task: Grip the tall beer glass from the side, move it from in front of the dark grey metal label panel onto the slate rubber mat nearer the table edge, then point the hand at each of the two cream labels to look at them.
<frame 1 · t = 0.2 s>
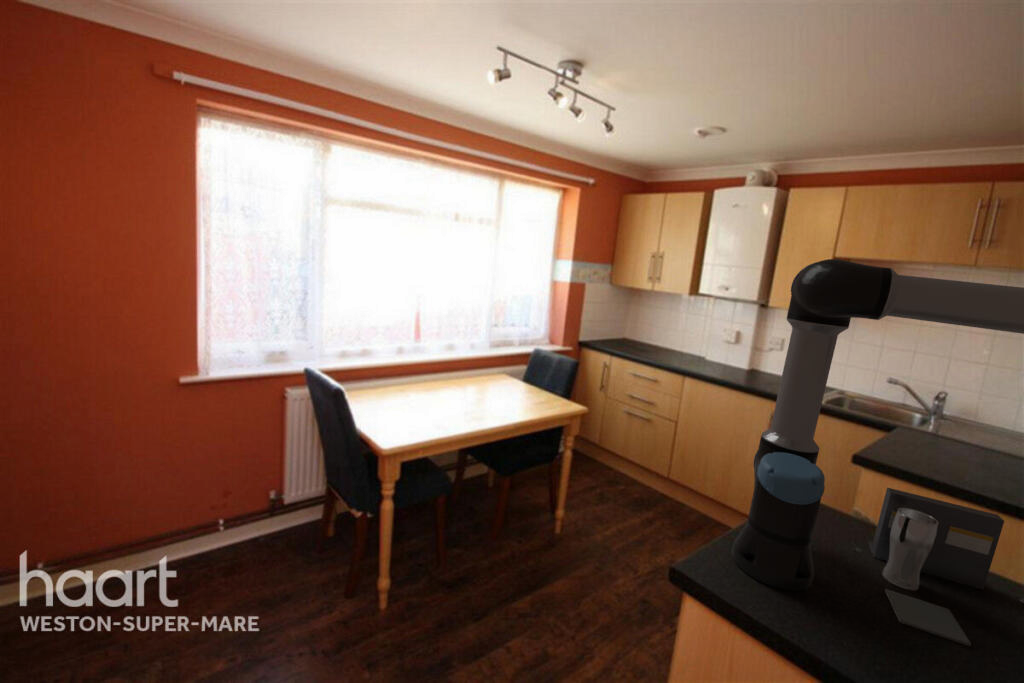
beer glass: (899, 581, 99), on the counter
label panel: (924, 569, 104), on the counter
rubber mat: (924, 616, 88), on the counter
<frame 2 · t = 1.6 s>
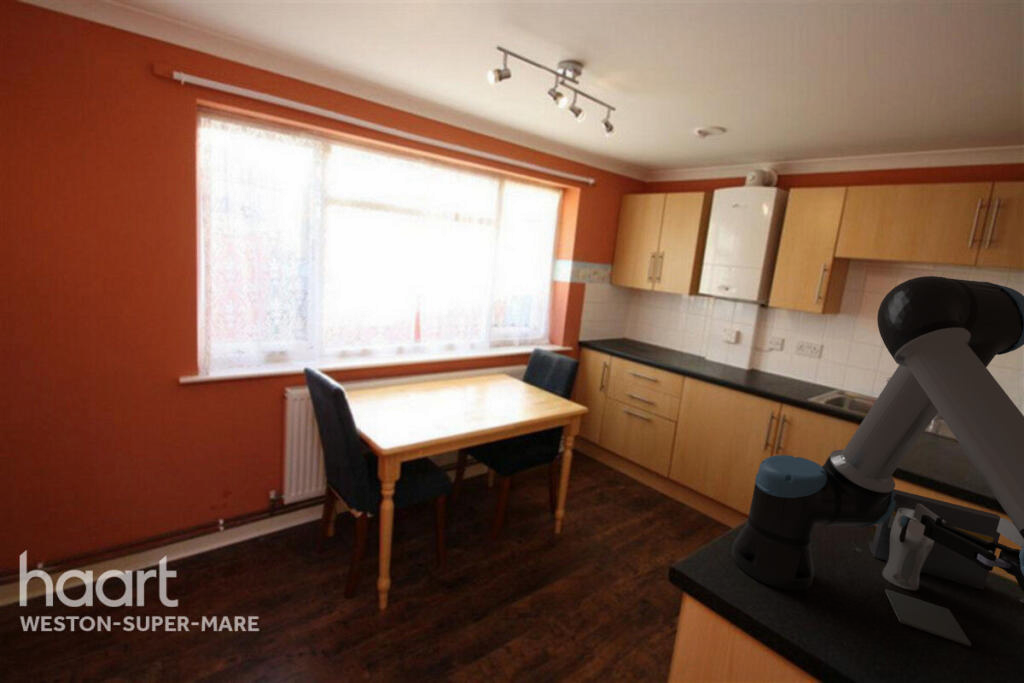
hand: (958, 517, 87), 20 cm above the counter, tool horizontal, fingers open, 13 cm apart
nothing on the counter moved.
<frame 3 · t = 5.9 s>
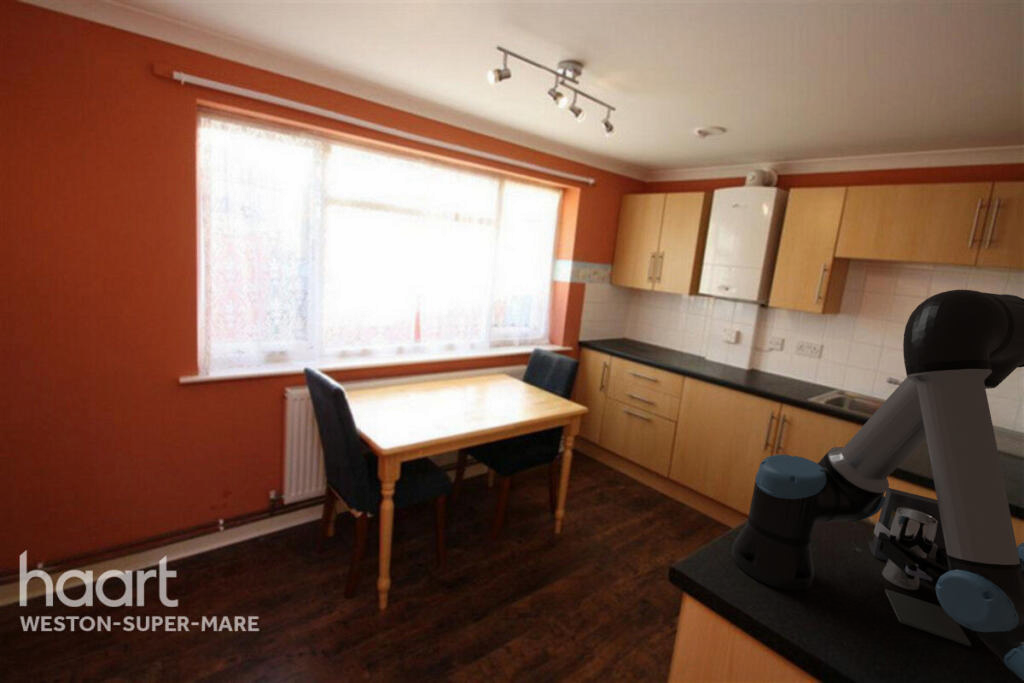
hand: (895, 531, 103), 9 cm above the counter, tool horizontal, fingers closed on beer glass, 7 cm apart
beer glass: (899, 581, 99), on the counter, touching gripper
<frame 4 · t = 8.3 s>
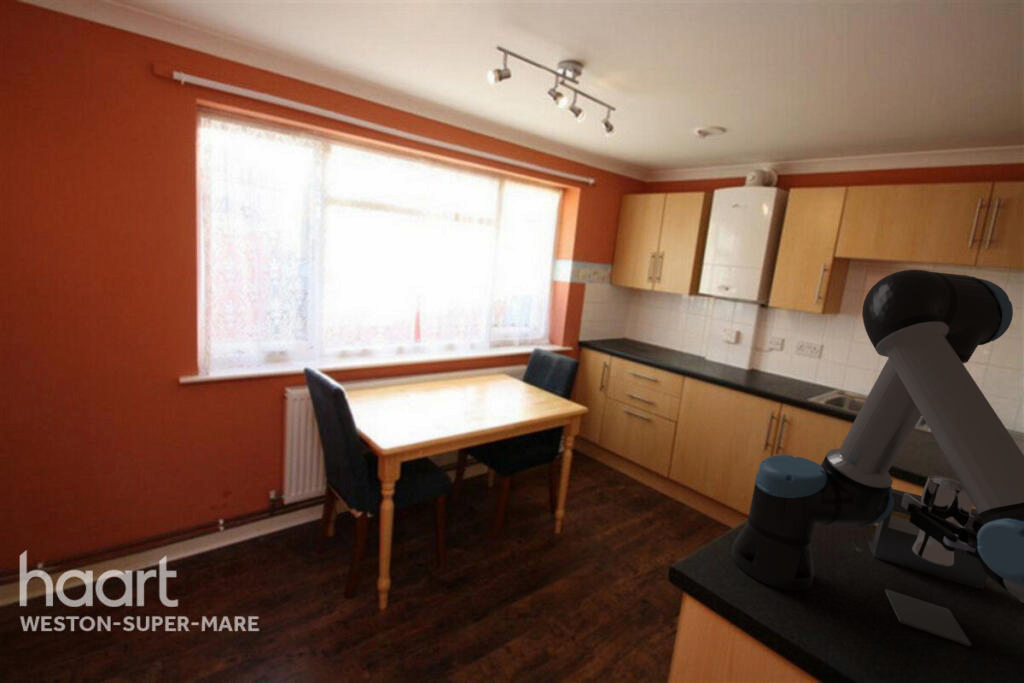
hand: (925, 503, 93), 19 cm above the counter, tool horizontal, fingers closed on beer glass, 7 cm apart
beer glass: (931, 557, 90), point 10 cm above the counter, touching gripper
when the fingers open (10 cm above the counter, at t = 11.0 s): beer glass drops 1 cm, resting on rubber mat.
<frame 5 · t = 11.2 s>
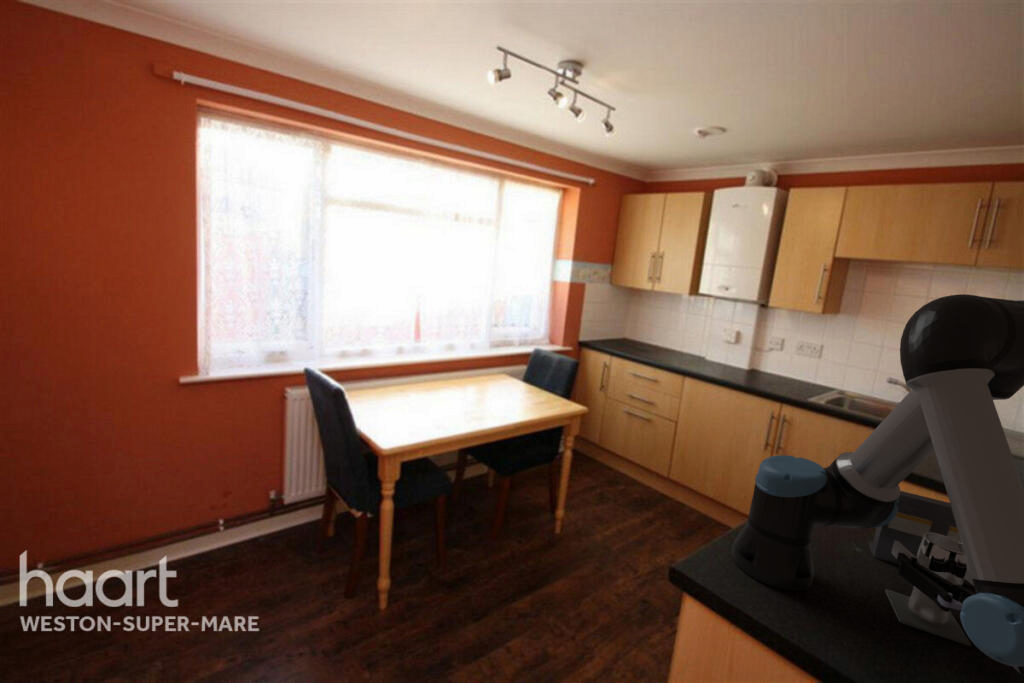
hand: (923, 552, 91), 10 cm above the counter, tool horizontal, fingers open, 9 cm apart
beer glass: (925, 615, 88), resting on rubber mat
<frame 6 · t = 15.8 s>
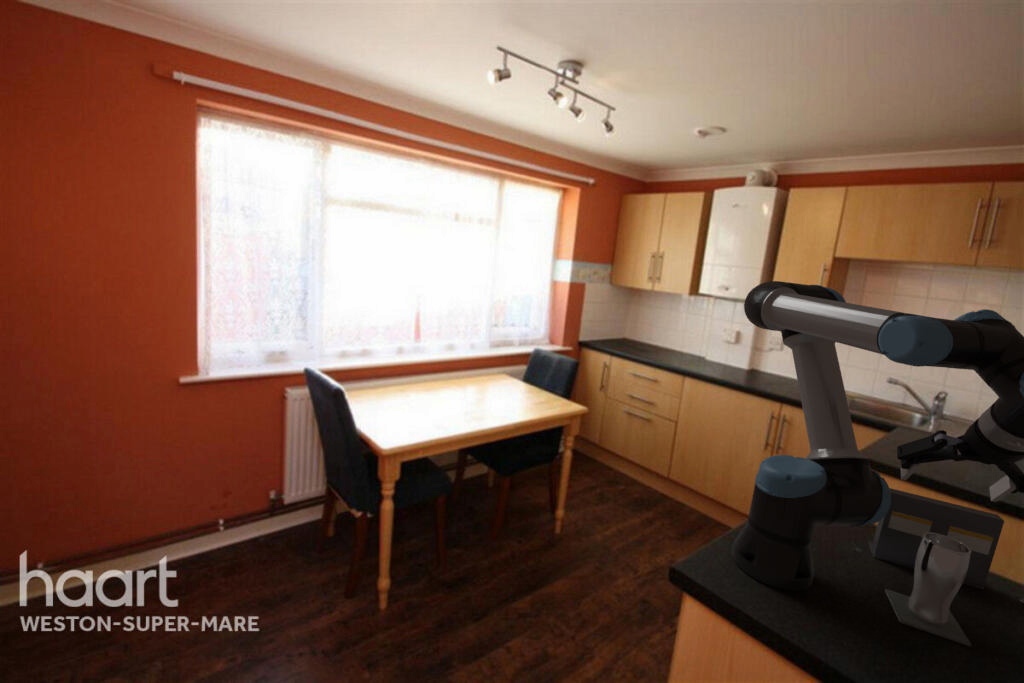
hand: (946, 484, 91), 24 cm above the counter, tool tilted 45°, fingers open, 13 cm apart
nothing on the counter moved.
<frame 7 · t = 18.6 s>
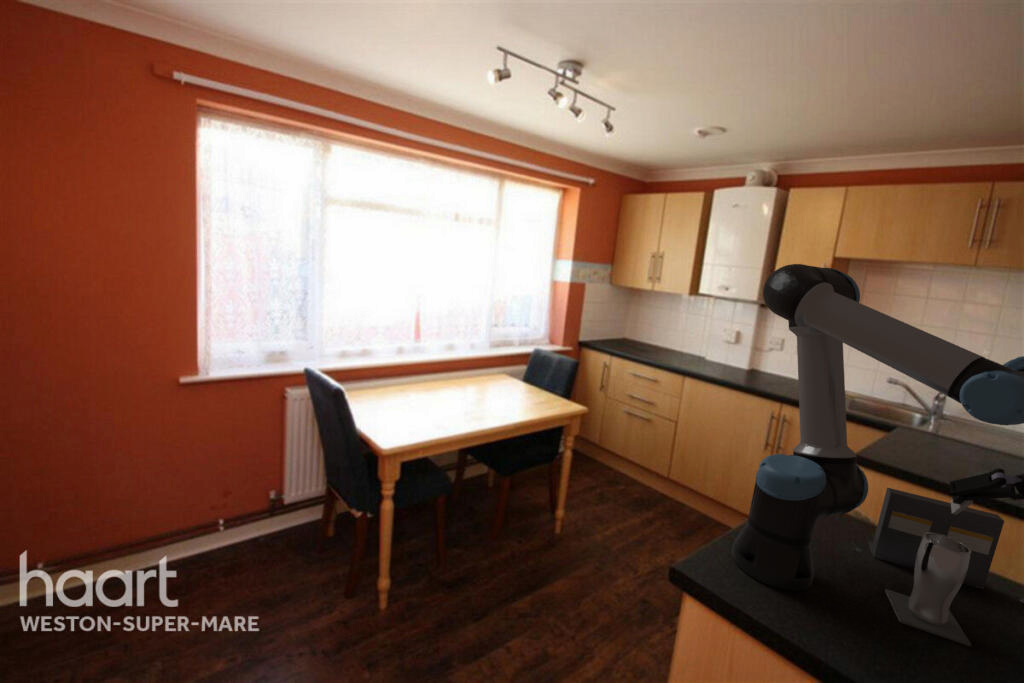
hand: (998, 519, 91), 19 cm above the counter, tool tilted 45°, fingers open, 13 cm apart
nothing on the counter moved.
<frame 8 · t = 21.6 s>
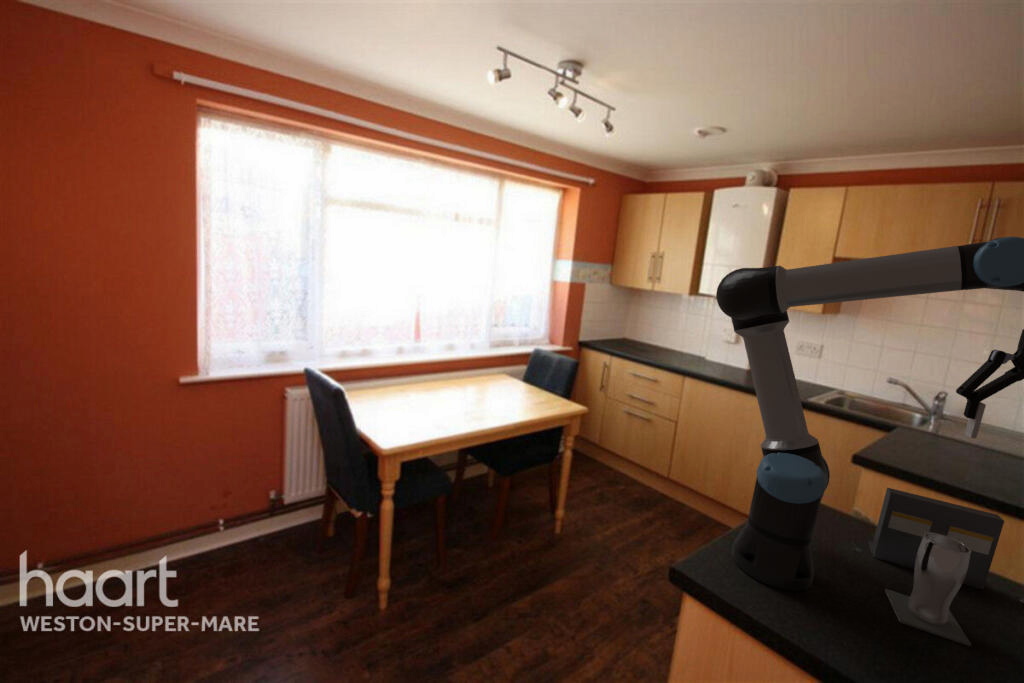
hand: (1019, 446, 84), 35 cm above the counter, tool pointing down, fingers open, 13 cm apart
nothing on the counter moved.
at the end: beer glass inside the target area on the rubber mat (0.1 cm from its centre), point 0.3 cm above the rubber mat's base; beer glass tilted 0°; the gripper is holding nothing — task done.
